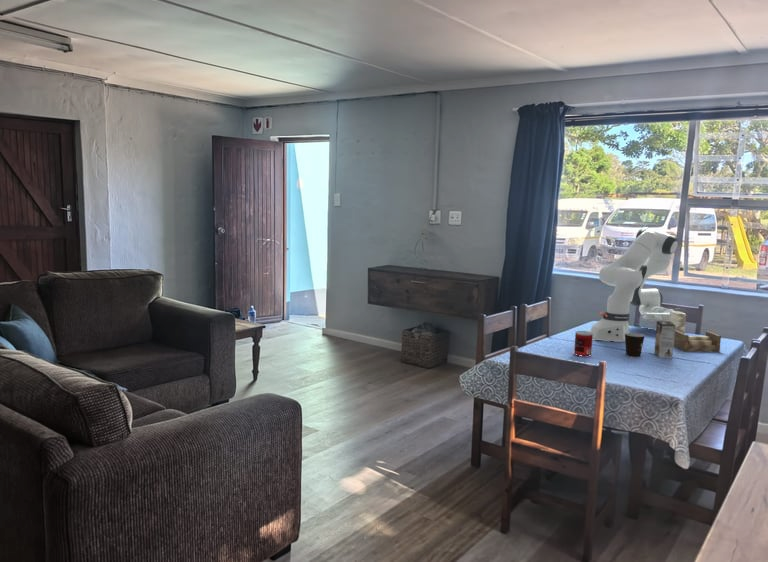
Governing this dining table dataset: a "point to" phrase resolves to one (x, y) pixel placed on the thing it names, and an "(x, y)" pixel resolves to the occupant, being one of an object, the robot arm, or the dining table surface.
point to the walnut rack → (682, 344)
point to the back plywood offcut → (698, 338)
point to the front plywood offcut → (699, 342)
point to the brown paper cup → (634, 344)
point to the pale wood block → (678, 320)
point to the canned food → (583, 343)
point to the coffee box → (664, 339)
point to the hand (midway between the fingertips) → (668, 318)
